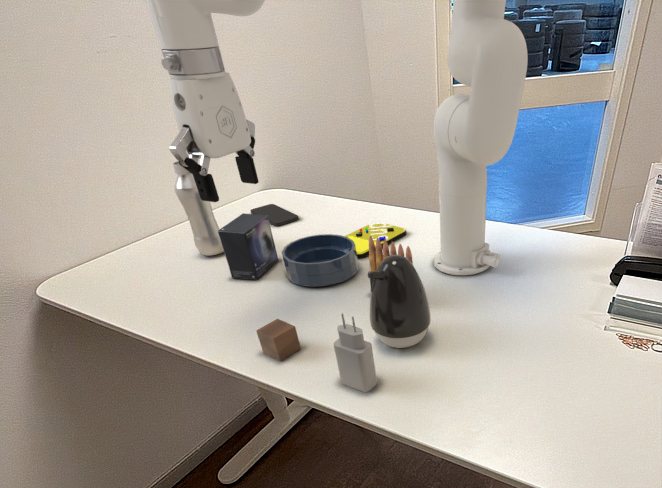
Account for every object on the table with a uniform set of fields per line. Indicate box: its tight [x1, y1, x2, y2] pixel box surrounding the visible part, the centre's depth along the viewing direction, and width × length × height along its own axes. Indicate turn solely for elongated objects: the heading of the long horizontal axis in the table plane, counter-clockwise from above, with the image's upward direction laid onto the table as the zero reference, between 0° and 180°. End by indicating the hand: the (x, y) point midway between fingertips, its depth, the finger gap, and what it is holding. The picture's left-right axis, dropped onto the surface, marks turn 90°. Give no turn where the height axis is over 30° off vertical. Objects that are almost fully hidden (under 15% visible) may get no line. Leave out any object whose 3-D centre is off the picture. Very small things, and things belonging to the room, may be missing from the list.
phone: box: [250, 203, 299, 227], centre depth 131 cm, size 7×1×15 cm
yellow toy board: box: [344, 222, 407, 260], centre depth 116 cm, size 18×11×2 cm, turn 146°
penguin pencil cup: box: [367, 254, 432, 349], centre depth 78 cm, size 10×10×15 cm
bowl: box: [281, 233, 360, 288], centre depth 102 cm, size 15×15×6 cm
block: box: [255, 318, 302, 362], centre depth 80 cm, size 4×4×4 cm
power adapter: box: [332, 313, 378, 393], centre depth 71 cm, size 3×5×12 cm, turn 60°
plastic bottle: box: [172, 160, 224, 257], centre depth 107 cm, size 6×7×20 cm
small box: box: [218, 213, 279, 281], centre depth 103 cm, size 11×6×10 cm, turn 168°
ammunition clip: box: [368, 236, 414, 292], centre depth 90 cm, size 11×2×12 cm, turn 54°
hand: (231, 191), depth 78 cm, fingers open, 9 cm apart
